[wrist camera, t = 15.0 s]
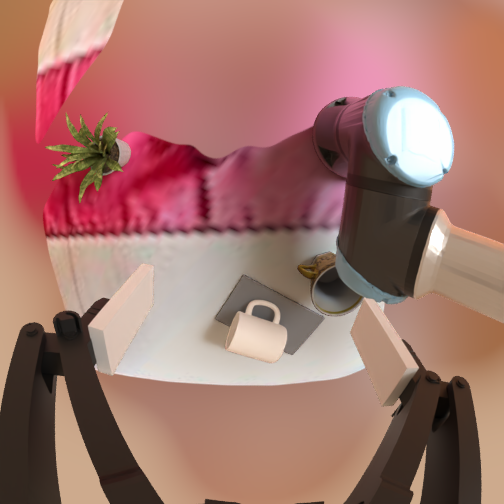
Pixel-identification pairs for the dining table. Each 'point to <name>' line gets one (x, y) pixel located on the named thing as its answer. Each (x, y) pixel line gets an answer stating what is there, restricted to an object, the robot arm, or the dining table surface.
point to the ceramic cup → (329, 287)
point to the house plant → (93, 154)
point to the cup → (257, 334)
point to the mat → (271, 311)
